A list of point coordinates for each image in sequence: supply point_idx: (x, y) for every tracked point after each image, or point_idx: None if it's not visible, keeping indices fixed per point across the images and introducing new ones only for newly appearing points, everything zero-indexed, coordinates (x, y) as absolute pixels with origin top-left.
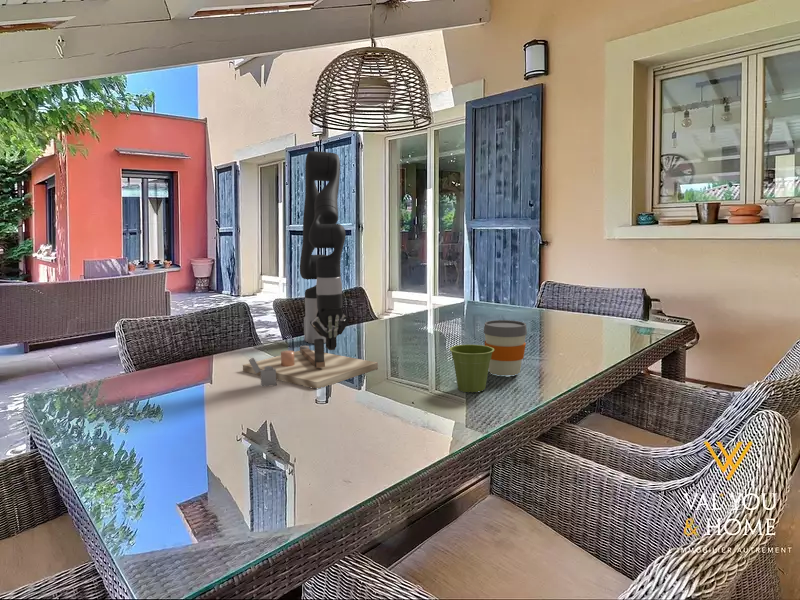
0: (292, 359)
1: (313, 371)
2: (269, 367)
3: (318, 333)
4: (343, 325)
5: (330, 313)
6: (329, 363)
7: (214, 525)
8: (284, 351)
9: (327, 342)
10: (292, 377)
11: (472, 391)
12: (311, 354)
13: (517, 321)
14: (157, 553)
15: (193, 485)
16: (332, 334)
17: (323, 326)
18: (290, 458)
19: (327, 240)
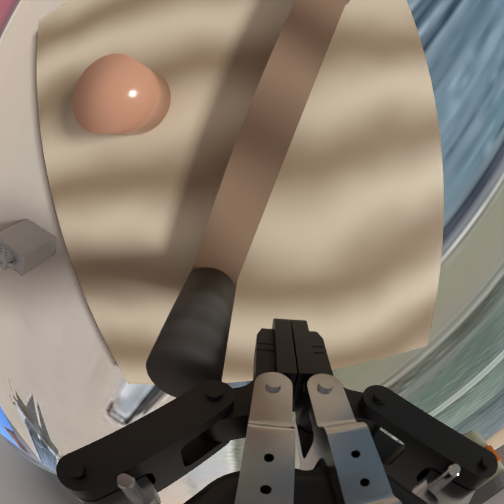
0: (131, 132)
1: (169, 291)
2: (3, 266)
3: (181, 397)
4: (394, 472)
5: None
6: (310, 230)
7: (25, 449)
8: (101, 70)
9: (253, 372)
10: (83, 287)
11: None
12: (269, 120)
13: (500, 490)
14: (9, 440)
15: (3, 420)
16: (300, 420)
17: (243, 453)
18: (58, 452)
19: None
